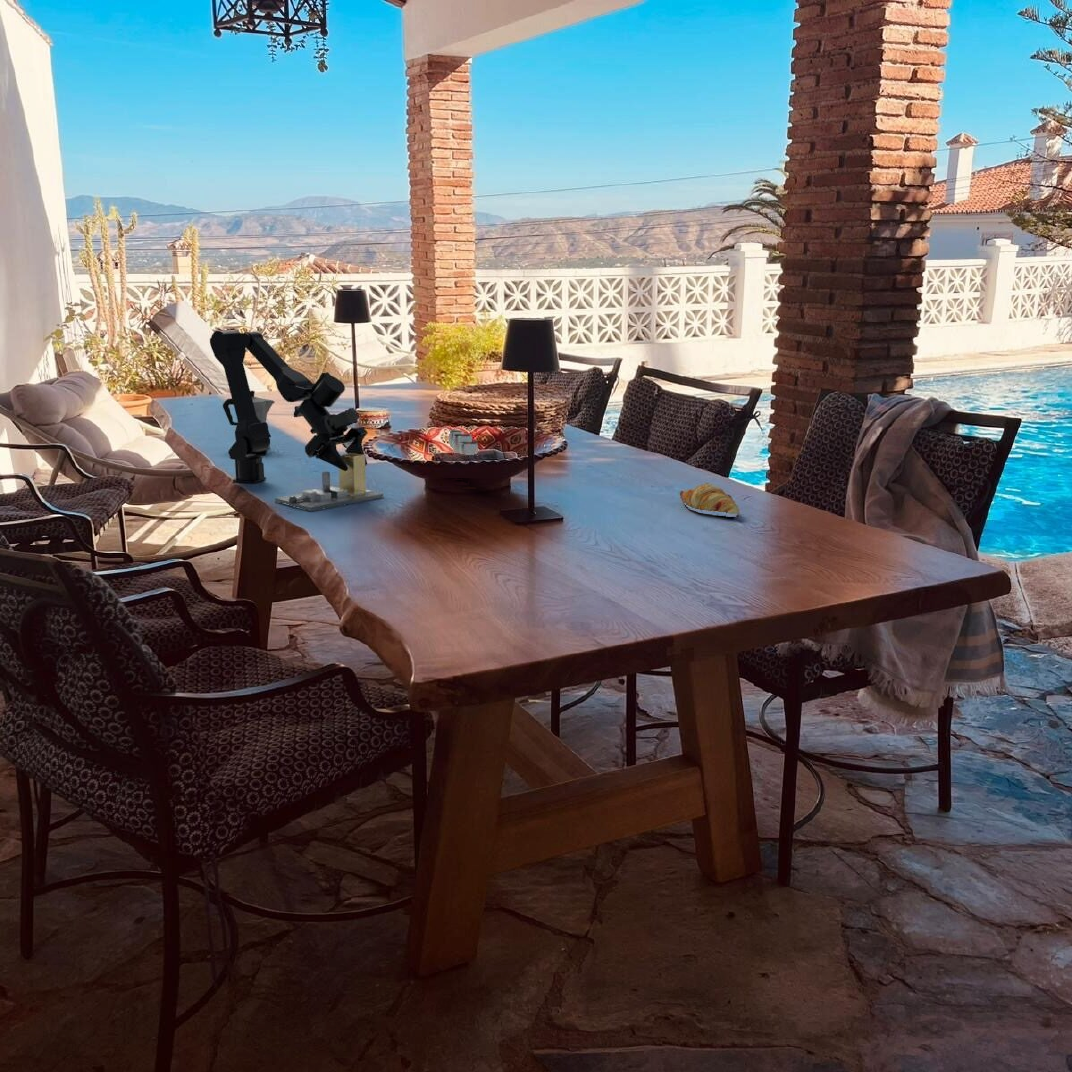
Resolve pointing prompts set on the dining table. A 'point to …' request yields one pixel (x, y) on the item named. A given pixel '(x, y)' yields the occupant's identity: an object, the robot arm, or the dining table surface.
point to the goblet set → (462, 443)
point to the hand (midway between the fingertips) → (356, 467)
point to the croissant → (709, 499)
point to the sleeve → (353, 473)
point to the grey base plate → (327, 496)
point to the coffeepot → (259, 405)
